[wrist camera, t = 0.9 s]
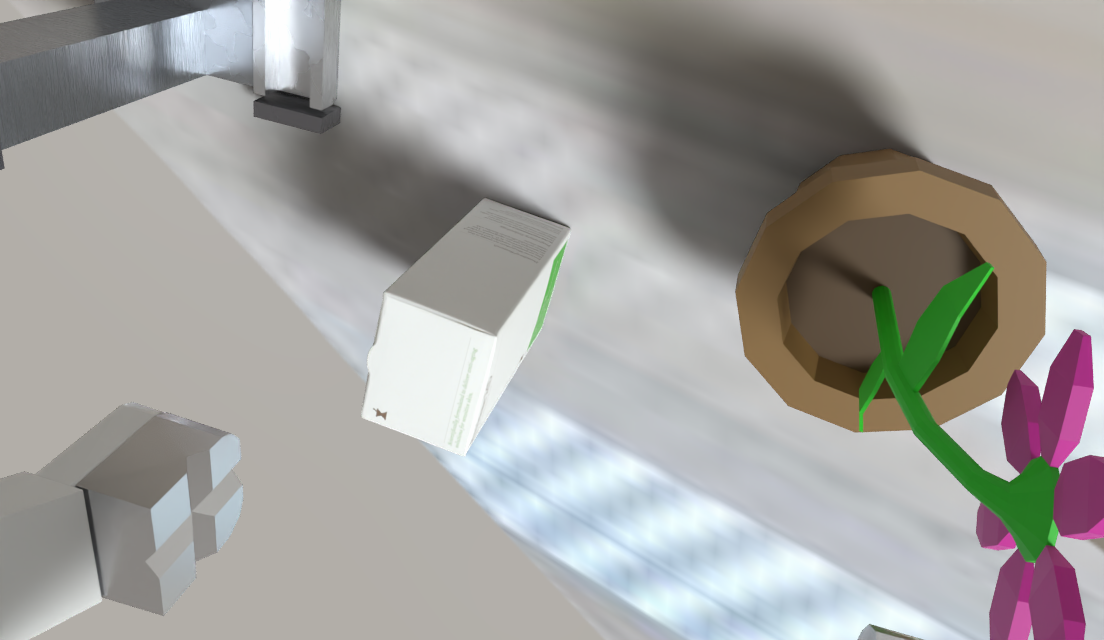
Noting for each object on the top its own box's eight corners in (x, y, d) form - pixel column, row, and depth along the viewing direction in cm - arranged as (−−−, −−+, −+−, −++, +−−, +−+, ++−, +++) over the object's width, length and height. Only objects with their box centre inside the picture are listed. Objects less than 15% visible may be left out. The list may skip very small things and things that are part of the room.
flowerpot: (968, 356, 52) (1126, 833, 27) (731, 322, 55) (669, 723, 30) (1039, 125, 46) (1344, 470, 20) (764, 99, 48) (721, 372, 23)
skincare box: (542, 329, 59) (467, 466, 46) (453, 296, 60) (354, 422, 46) (575, 222, 55) (502, 340, 42) (479, 188, 55) (376, 293, 42)
